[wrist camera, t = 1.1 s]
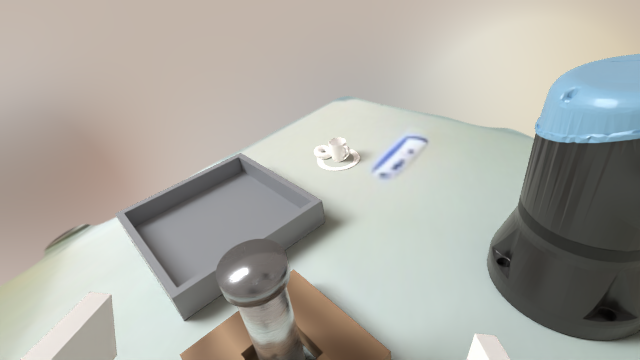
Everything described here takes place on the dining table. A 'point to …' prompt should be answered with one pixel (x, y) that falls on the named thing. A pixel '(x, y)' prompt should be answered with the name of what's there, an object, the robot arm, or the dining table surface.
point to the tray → (215, 225)
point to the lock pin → (262, 297)
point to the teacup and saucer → (335, 154)
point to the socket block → (313, 325)
